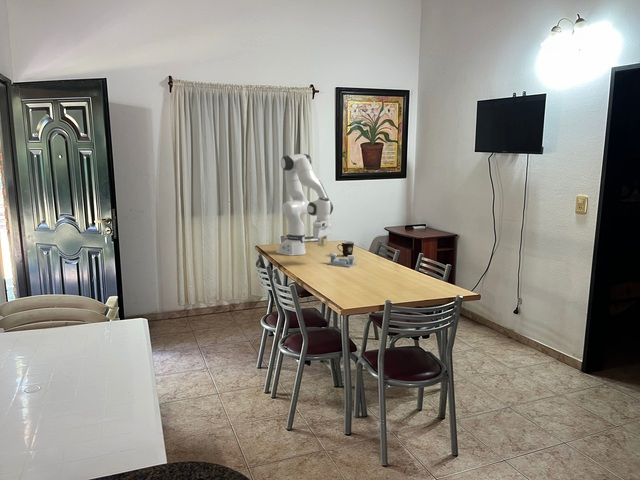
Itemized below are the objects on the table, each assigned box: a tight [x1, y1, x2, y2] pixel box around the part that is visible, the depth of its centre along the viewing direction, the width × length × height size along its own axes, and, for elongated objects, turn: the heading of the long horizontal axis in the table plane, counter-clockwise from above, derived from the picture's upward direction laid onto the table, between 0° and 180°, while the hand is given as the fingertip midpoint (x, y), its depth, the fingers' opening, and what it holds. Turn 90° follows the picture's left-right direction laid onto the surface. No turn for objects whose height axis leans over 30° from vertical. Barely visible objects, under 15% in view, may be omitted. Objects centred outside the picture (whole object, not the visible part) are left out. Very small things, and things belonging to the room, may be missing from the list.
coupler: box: [317, 237, 328, 247], centre depth 330 cm, size 4×4×5 cm
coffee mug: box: [336, 240, 355, 258], centre depth 357 cm, size 12×9×10 cm
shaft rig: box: [327, 252, 357, 268], centre depth 330 cm, size 18×11×7 cm, turn 61°
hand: (322, 243), depth 330 cm, fingers closed on coupler, 4 cm apart
